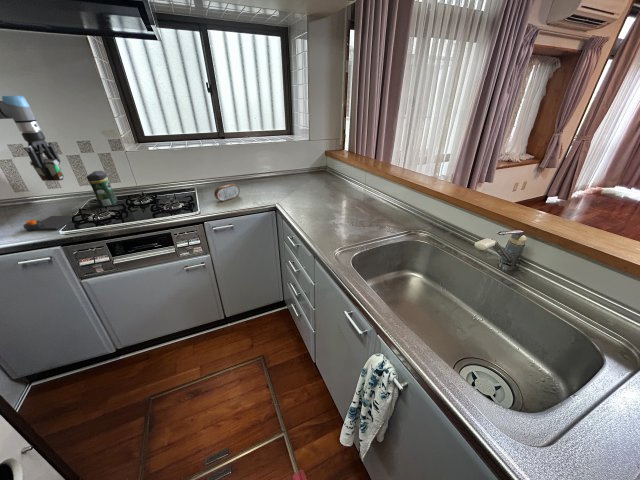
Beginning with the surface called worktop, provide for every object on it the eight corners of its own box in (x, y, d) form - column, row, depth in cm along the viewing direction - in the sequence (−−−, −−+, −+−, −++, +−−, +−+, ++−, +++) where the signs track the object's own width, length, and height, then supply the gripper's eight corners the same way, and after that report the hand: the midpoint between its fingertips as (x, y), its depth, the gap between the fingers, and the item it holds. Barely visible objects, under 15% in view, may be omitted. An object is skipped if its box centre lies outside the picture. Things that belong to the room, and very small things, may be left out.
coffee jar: (104, 202, 156) (90, 170, 146) (119, 200, 158) (106, 169, 148) (97, 208, 148) (82, 175, 138) (114, 206, 150) (100, 173, 140)
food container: (72, 176, 144) (63, 158, 139) (63, 180, 138) (53, 161, 133) (49, 177, 144) (39, 158, 138) (39, 180, 138) (28, 161, 133)
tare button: (26, 225, 124) (23, 222, 123) (32, 222, 127) (30, 219, 126) (32, 225, 124) (30, 222, 123) (39, 222, 127) (37, 219, 126)
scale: (23, 232, 124) (19, 226, 123) (50, 218, 137) (47, 213, 136) (55, 231, 124) (52, 225, 123) (80, 217, 137) (77, 212, 136)
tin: (238, 195, 163) (236, 181, 158) (241, 196, 161) (239, 182, 156) (215, 202, 153) (212, 187, 149) (218, 203, 152) (215, 189, 147)
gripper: (21, 134, 121) (48, 184, 133) (54, 128, 137) (76, 173, 149) (4, 134, 121) (33, 184, 132) (40, 129, 137) (62, 173, 148)
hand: (55, 178), depth 140 cm, fingers closed on food container, 5 cm apart
